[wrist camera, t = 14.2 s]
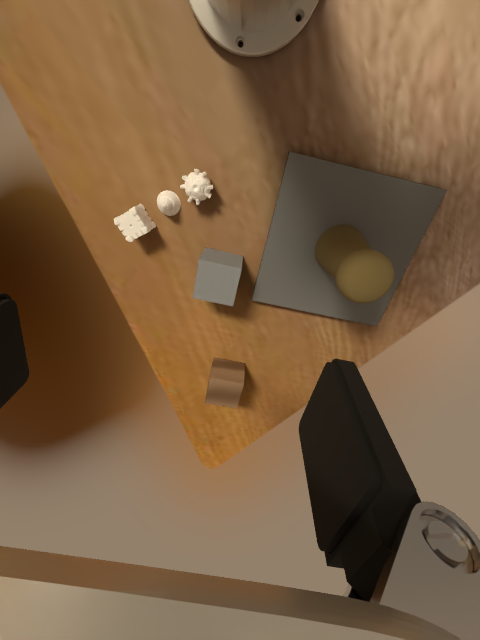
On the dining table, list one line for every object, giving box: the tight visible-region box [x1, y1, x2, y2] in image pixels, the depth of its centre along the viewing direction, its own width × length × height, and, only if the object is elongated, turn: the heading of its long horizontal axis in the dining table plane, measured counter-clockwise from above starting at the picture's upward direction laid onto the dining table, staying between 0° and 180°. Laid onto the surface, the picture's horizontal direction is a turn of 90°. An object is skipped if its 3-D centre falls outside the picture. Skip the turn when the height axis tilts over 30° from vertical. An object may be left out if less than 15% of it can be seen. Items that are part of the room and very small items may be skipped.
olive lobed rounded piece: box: [315, 224, 394, 304], centre depth 32 cm, size 6×6×11 cm
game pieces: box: [114, 169, 213, 242], centre depth 34 cm, size 12×3×3 cm, turn 117°
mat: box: [252, 152, 447, 326], centre depth 37 cm, size 18×18×1 cm
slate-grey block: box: [193, 247, 243, 306], centre depth 37 cm, size 5×5×5 cm
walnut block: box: [205, 357, 245, 409], centre depth 46 cm, size 5×5×5 cm
